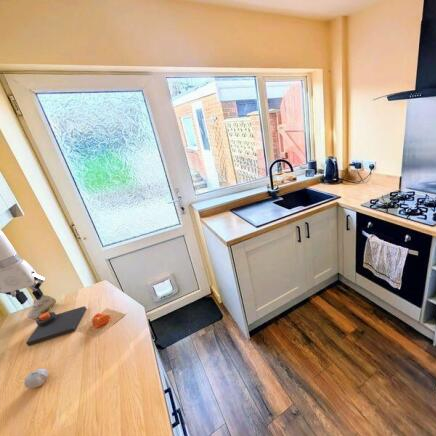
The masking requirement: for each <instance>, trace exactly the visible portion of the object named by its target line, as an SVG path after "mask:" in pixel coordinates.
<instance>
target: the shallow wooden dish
mask: <svg viewBox="0 0 436 436" xmlns="http://www.w3.org/2000/svg"><path fill="white" fill-rule="evenodd" d="M125 315H126V313H124V312H119V311H117V310H114V309H110V308H107V307H106V308H105V309H103V310H102V311H101V312H97V313H96V314H95V315H94V316H93V317H92V319H90V320H89V321H87V322H86V323H85V324H84V325H82V326H81V327H80V328H79V329H77V331H78V332H80V333H82V334H86V335H87V336H90V337H93V338H97V337H100V336H101V335H102V334H104V333H105V332H106V331H107V330H108V329H110V328H111V327H112V326H113V325H114V324H116V323H118V321H119V320H121V319H122V318H124V316H125Z"/></svg>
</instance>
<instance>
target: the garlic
mask: <svg viewBox="0 0 436 436" xmlns="http://www.w3.org/2000/svg"><path fill="white" fill-rule="evenodd" d="M49 376H50V374H49V373H48V370H47V369H46V368H45V367H42V368H38V369H34V370H33V371H31V372H30V373H28V374H27V375H26V377H25V378H24V381H23V384H24V387H26V388H27V389H35V388H40V387H41V386H43V385H44V384H45V382H47V380H48V378H49Z"/></svg>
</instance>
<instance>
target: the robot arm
mask: <svg viewBox="0 0 436 436" xmlns="http://www.w3.org/2000/svg"><path fill="white" fill-rule="evenodd" d="M45 281H46V277H43V276H41V275H39V274H38V272H37V271H36V270H35V269H34V267H32V266H31V265H30V263H29V262H28V261H27V260H25V259H24V258H21V256H20V254H19V253H18V252H17V250H16V249H15V248H14V246H13V244H11V241H10V240H9V239H8V237H7V235H6V234H5V233H4V231H2V229H0V294H3V295H4V294H5V295H7V296H11V297H12V298H15V299H16V300H17V302H18V303H20V305H24V304H25V303H26V302H27V301H28V300H29V298H28V296H27V295H26V294H25V292H24V291H21V290H23V289H27V288H28V289H30V290H31V291H32V292H31V294H32V296H34V298H35V299H37V300H40V299H41V297H42V296H43V295H44V292H43V290H41V286H42V284H43V283H44V282H45Z"/></svg>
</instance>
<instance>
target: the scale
mask: <svg viewBox="0 0 436 436" xmlns="http://www.w3.org/2000/svg"><path fill="white" fill-rule="evenodd" d="M86 311H87V307H86V306H80V307H77V308H73V309H70V310H67V311H63V312H60V313H57V314H56V312H54V311H50V313H49V314H50V317H49V318H48V319H46V320H44V321H41V320H40V318H39V317H38V318H36V321H35V324H36V325H37V326H36V328H35V329H34V331H33V332H32V333H31V334H30V336H29V338H28V339H27V340H26V341H25V344H26V345H27V346H28V347H30V346H33V345H36V344H39V343H42V342H46V341H49V340H52V339H55V338H58V337H61V336H65V335H68V334H71V333H74V332H76V331H77V330H78V329H77V328H78V327H79V325H80V323H81V321H82V319H83V317H84V315H85V314H86Z"/></svg>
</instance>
